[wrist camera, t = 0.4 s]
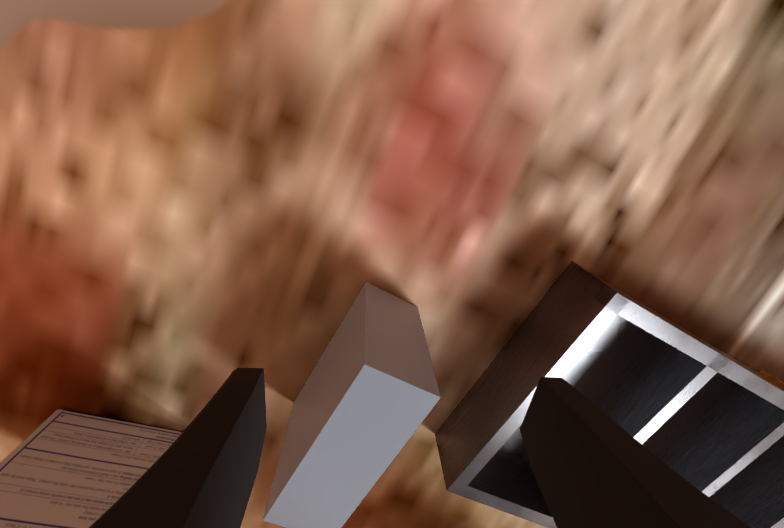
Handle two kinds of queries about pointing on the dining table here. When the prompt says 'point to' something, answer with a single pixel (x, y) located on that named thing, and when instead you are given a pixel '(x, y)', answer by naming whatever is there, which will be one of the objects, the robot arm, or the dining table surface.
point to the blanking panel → (353, 413)
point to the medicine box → (75, 469)
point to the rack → (622, 404)
